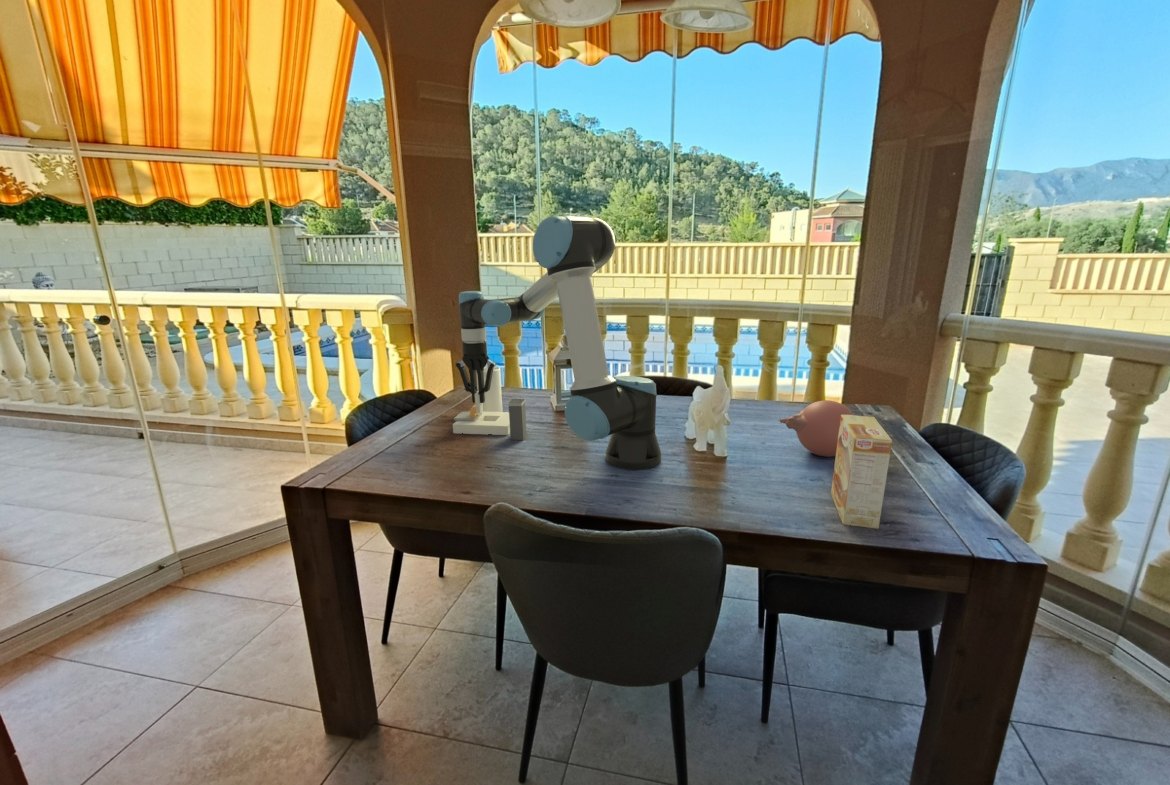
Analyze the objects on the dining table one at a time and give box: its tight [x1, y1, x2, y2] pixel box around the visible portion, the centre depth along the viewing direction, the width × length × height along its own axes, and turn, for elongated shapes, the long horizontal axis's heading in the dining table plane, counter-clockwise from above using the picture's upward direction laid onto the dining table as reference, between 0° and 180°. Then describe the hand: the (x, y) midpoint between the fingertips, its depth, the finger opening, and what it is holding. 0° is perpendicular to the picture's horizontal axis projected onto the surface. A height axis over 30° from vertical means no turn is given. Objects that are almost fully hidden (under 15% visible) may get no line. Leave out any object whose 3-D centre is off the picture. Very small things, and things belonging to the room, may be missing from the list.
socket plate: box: [452, 410, 510, 436], centre depth 166 cm, size 18×14×3 cm
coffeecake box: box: [830, 414, 893, 530], centre depth 108 cm, size 15×7×20 cm, turn 163°
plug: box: [507, 398, 527, 441], centre depth 155 cm, size 4×4×12 cm
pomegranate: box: [779, 399, 855, 458], centre depth 139 cm, size 15×20×15 cm
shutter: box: [453, 404, 482, 422], centre depth 166 cm, size 7×7×4 cm
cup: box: [476, 365, 504, 412], centre depth 180 cm, size 8×8×16 cm
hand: (479, 412), depth 166 cm, fingers closed
